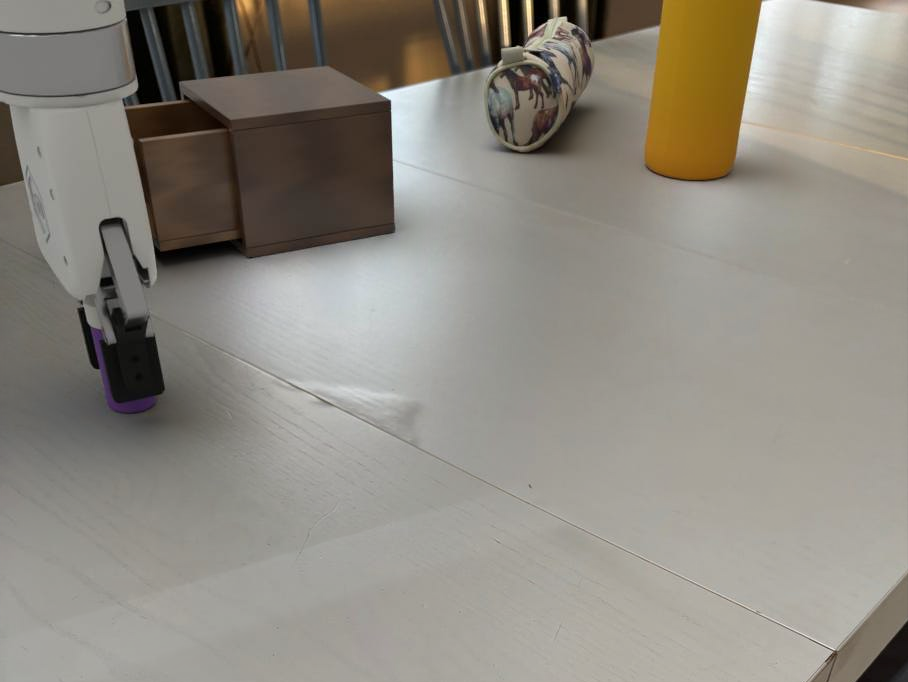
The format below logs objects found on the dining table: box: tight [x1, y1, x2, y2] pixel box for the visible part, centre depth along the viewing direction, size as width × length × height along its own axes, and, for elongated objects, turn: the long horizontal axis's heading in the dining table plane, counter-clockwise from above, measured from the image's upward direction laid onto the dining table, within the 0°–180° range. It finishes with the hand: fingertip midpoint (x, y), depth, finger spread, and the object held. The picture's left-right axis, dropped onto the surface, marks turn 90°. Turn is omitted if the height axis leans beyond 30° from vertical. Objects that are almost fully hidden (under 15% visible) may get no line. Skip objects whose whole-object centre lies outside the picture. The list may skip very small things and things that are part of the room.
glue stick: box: [82, 295, 157, 414], centre depth 65 cm, size 3×3×7 cm
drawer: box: [124, 99, 242, 253], centre depth 85 cm, size 17×11×9 cm, turn 120°
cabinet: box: [178, 65, 396, 259], centre depth 90 cm, size 14×13×11 cm
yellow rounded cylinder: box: [643, 0, 763, 181], centre depth 98 cm, size 9×9×29 cm
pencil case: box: [483, 16, 596, 153], centre depth 114 cm, size 22×8×10 cm, turn 166°
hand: (127, 377), depth 67 cm, fingers open, 4 cm apart
